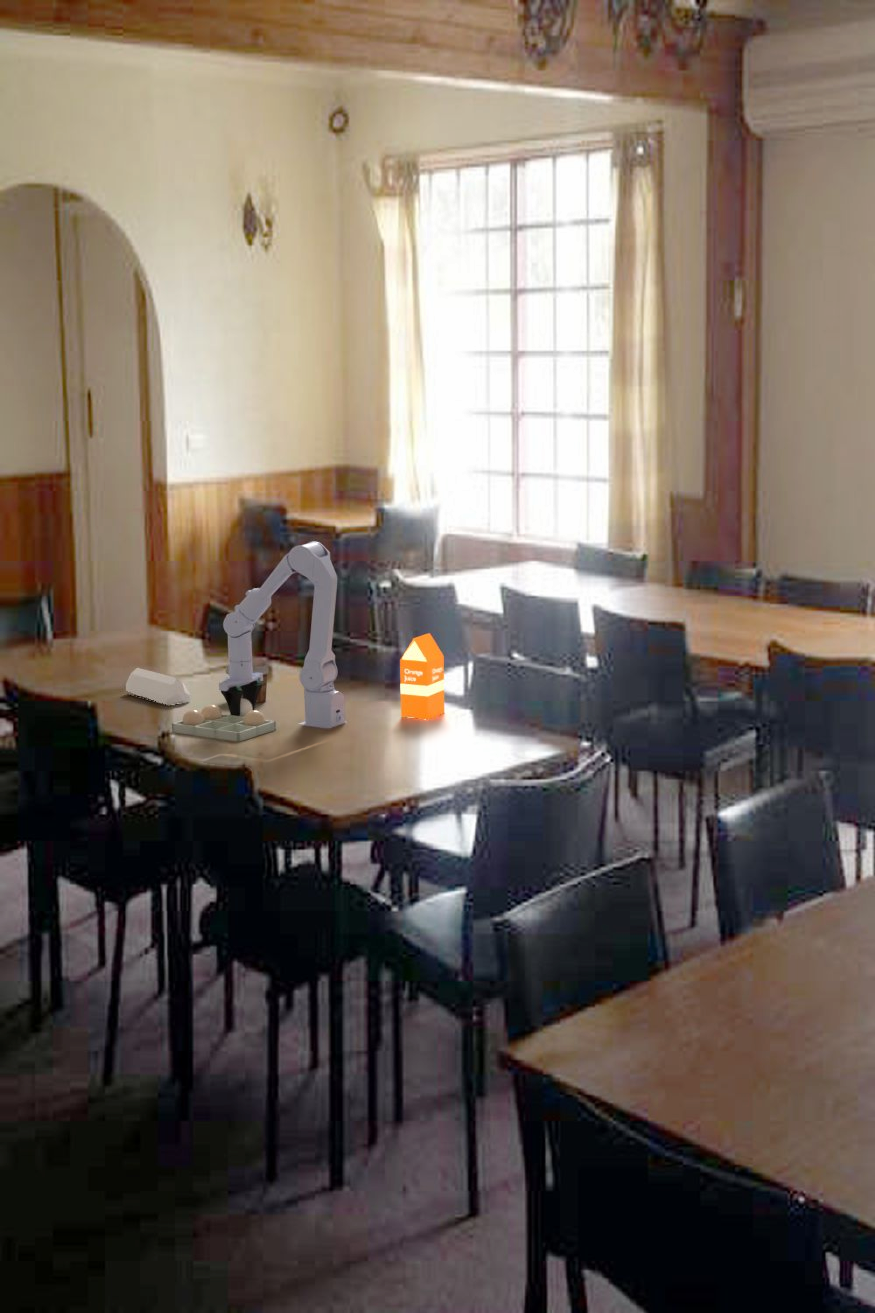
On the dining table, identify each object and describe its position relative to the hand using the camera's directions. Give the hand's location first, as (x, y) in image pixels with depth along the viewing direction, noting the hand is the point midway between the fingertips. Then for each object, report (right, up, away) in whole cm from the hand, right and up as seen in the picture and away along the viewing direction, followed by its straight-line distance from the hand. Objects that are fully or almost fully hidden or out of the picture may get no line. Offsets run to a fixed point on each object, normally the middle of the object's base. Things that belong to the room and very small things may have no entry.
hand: (242, 714), depth 404 cm
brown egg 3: (+4, -3, -14) cm, 15 cm away
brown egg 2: (-7, -2, -7) cm, 10 cm away
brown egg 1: (-10, -3, -12) cm, 16 cm away
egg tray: (-3, -4, -13) cm, 14 cm away
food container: (-2, +2, +19) cm, 19 cm away
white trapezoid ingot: (-25, +3, +27) cm, 37 cm away
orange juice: (+44, -1, +3) cm, 44 cm away
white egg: (0, -1, 0) cm, 1 cm away
